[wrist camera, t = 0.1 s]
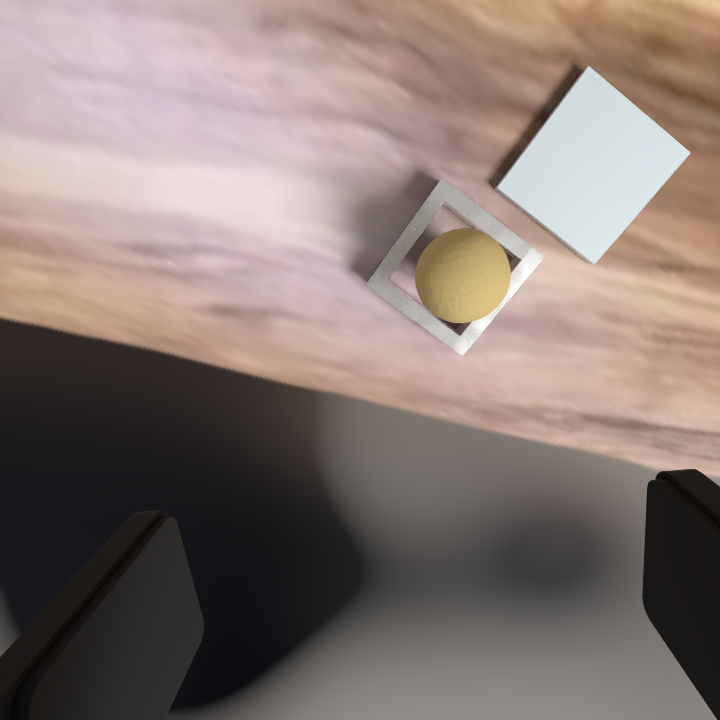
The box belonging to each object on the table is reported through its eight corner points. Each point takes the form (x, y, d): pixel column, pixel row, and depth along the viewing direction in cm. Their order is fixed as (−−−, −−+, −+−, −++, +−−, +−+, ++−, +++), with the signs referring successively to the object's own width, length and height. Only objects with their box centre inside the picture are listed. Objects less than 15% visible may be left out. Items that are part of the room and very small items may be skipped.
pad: (582, 70, 33) (588, 66, 32) (682, 155, 34) (690, 152, 33) (494, 188, 35) (497, 187, 34) (589, 263, 37) (594, 264, 36)
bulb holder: (439, 181, 36) (442, 177, 33) (534, 254, 37) (544, 256, 34) (366, 282, 38) (365, 285, 36) (457, 348, 39) (462, 356, 37)
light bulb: (501, 279, 37) (540, 296, 28) (435, 320, 39) (451, 349, 29) (462, 213, 36) (489, 206, 27) (396, 257, 37) (398, 266, 28)
